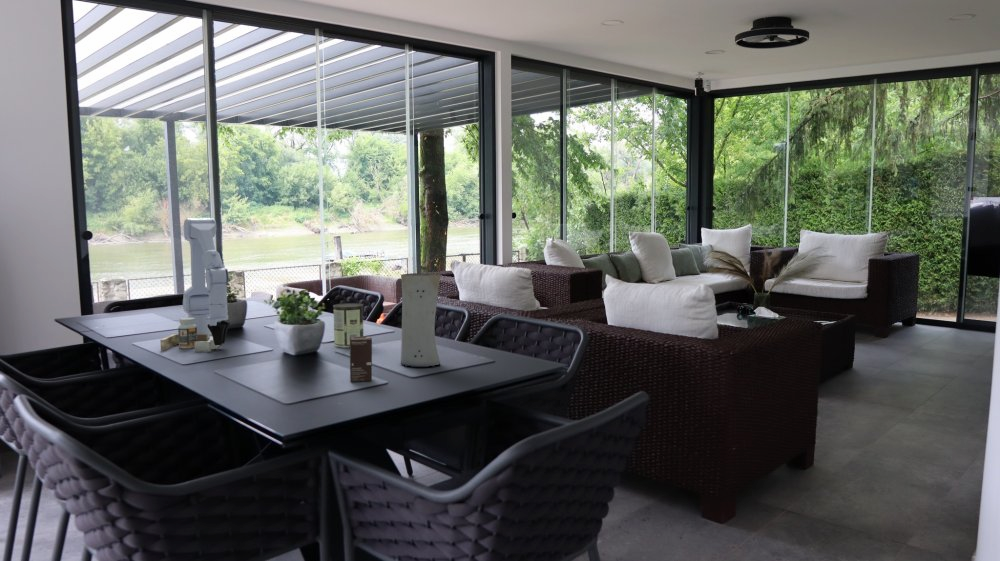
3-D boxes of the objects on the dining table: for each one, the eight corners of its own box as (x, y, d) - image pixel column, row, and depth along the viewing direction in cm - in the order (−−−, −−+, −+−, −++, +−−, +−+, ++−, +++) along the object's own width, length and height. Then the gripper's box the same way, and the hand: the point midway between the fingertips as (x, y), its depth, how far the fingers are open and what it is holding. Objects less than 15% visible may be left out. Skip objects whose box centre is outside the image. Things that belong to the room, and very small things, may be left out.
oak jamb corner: (173, 343, 253) (173, 334, 253) (207, 343, 254) (207, 333, 253) (160, 350, 242) (160, 339, 241) (196, 350, 242) (196, 339, 242)
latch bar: (209, 343, 252) (209, 333, 252) (218, 343, 253) (218, 333, 253) (208, 349, 242) (208, 339, 242) (217, 348, 243) (217, 338, 243)
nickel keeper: (199, 349, 244) (198, 339, 244) (213, 349, 244) (213, 339, 244) (194, 351, 240) (194, 342, 240) (209, 351, 241) (209, 341, 240)
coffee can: (348, 341, 261) (348, 302, 259) (370, 344, 255) (369, 304, 254) (327, 345, 252) (326, 305, 251) (349, 349, 247) (348, 307, 245)
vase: (450, 365, 225) (452, 274, 223) (417, 370, 215) (418, 276, 213) (423, 359, 233) (424, 272, 231) (389, 364, 223) (390, 273, 221)
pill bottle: (192, 349, 244) (191, 319, 243) (175, 348, 244) (174, 319, 243) (200, 345, 250) (199, 317, 249) (183, 345, 250) (182, 317, 249)
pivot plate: (209, 344, 253) (209, 343, 253) (223, 344, 254) (223, 343, 254) (205, 346, 249) (205, 346, 249) (218, 346, 249) (218, 346, 249)
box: (350, 382, 200) (349, 339, 199) (350, 379, 204) (349, 336, 203) (372, 381, 201) (372, 338, 200) (371, 378, 206) (371, 336, 204)
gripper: (211, 301, 250) (213, 341, 251) (199, 306, 236) (200, 348, 237) (233, 301, 251) (234, 340, 252) (221, 306, 236) (223, 347, 238)
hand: (219, 344), depth 244 cm, fingers closed on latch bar, 2 cm apart
